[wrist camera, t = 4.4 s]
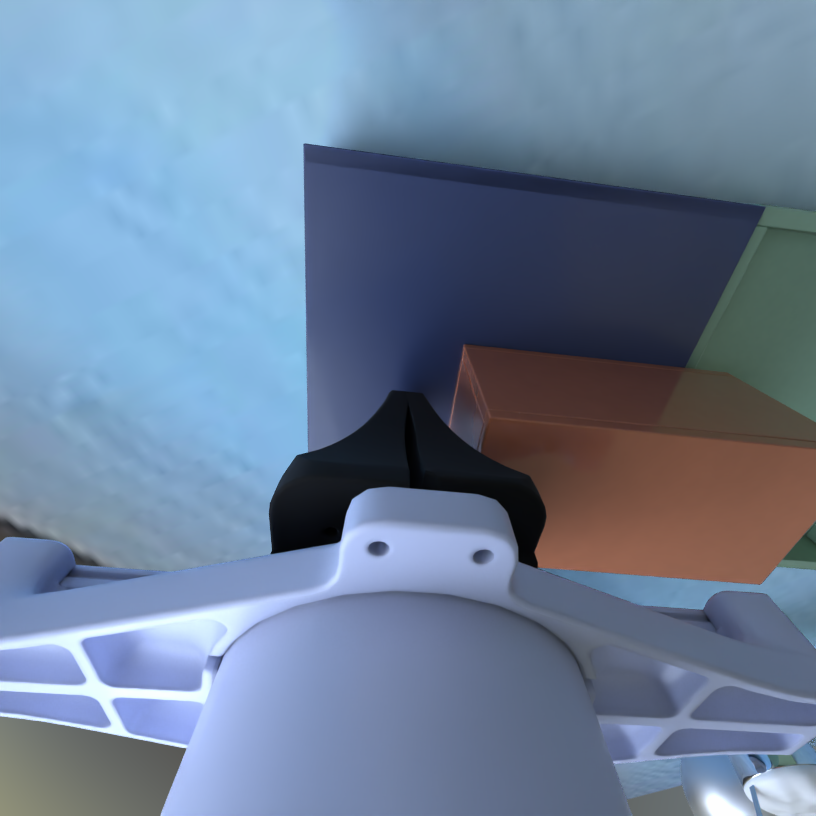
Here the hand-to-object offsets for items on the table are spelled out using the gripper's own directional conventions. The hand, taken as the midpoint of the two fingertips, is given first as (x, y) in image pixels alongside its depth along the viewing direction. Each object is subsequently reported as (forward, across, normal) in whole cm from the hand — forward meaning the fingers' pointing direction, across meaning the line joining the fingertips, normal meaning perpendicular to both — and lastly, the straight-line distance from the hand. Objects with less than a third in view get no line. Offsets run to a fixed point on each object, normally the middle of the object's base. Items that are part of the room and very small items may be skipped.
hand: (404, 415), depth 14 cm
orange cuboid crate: (+1, -7, 0) cm, 7 cm away
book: (+4, -3, 0) cm, 5 cm away
